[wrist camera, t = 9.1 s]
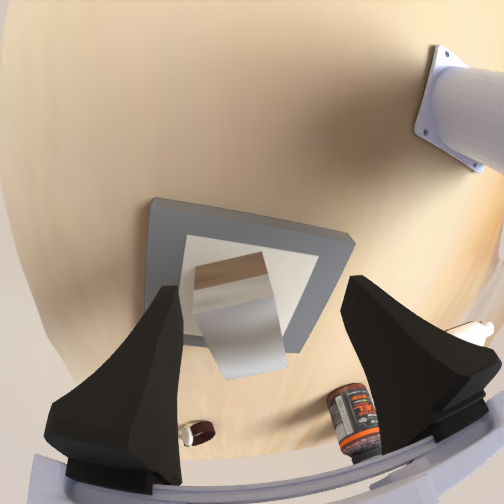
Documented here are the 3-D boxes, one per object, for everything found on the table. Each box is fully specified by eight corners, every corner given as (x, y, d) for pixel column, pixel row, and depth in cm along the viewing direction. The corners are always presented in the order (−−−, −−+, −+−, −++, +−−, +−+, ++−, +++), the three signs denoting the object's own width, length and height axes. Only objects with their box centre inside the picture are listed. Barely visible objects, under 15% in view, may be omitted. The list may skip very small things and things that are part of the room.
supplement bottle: (372, 380, 34) (401, 447, 25) (351, 402, 37) (373, 464, 27) (338, 382, 33) (365, 458, 23) (318, 404, 35) (338, 473, 26)
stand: (347, 233, 21) (356, 244, 19) (295, 341, 27) (299, 354, 25) (155, 197, 18) (150, 207, 16) (146, 326, 23) (144, 339, 22)
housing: (276, 322, 23) (287, 367, 19) (222, 334, 23) (225, 380, 19) (261, 251, 19) (274, 295, 15) (195, 266, 19) (192, 314, 15)
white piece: (417, 332, 30) (434, 359, 26) (488, 308, 32) (504, 328, 28) (391, 378, 36) (403, 402, 32) (461, 352, 37) (473, 371, 33)
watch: (190, 415, 34) (190, 438, 30) (222, 420, 35) (224, 442, 32) (175, 432, 37) (175, 452, 34) (203, 436, 38) (204, 456, 35)
